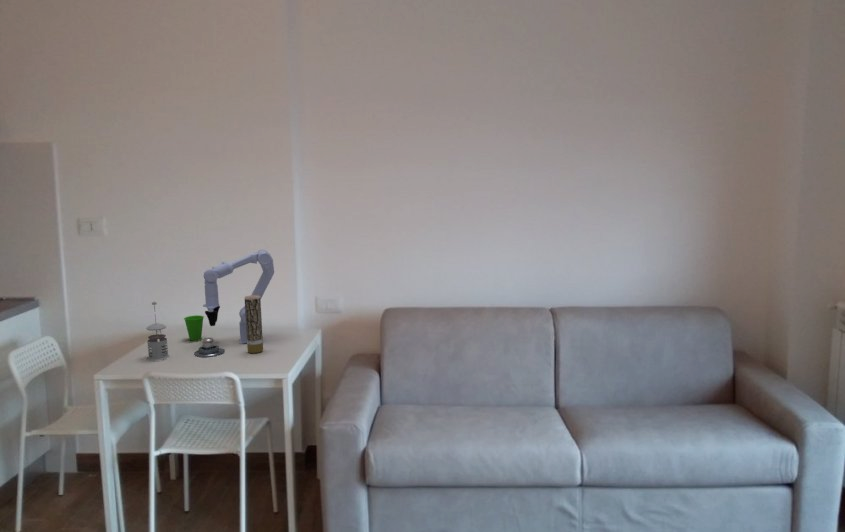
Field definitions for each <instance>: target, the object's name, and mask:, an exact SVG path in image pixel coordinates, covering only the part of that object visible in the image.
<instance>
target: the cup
mask: <svg viewBox="0 0 845 532" xmlns="http://www.w3.org/2000/svg"><path fill="white" fill-rule="evenodd" d="M204 318H205V316H204V315H196V314H195V315H188V316H186V317H184V318H183V320H184V322H185V325H186V330H187V333H188V334H187V335H188V338H189V341H190V340H191V342H198V340H199V341H201V340H202V334H203V325H204V323H203V322H204ZM200 339H201V340H200Z"/></svg>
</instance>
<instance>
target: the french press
mask: <svg viewBox="0 0 845 532" xmlns="http://www.w3.org/2000/svg"><path fill="white" fill-rule="evenodd" d="M157 303H158V302H156V301H152V302H151V306H152V305H153V308H154V311H156V306H155V305H157ZM154 318H155V319H154V322H155V323H151V324H150V325H148V326H147V327H145V329H146V330H147V331H152V332H153V331H155V332H156V334H151V335H149V336H148V339H147V341H146V342H147V351H148V352H147V353H148V354H147V355H148V357H147V358H146V361H148V360H149V362H157V361H156V360H162V361H164V360H163V359H166V360H168V359H167V358H169V357H170V356H171V354H169V350H168V338H167V337H166V334H163V333H162V330H164V329H166V328H167V325H165V324H164V323H163V324H162V323H159V322H158V323H157V319H156V315H154ZM158 332H160V333H159V334H158ZM158 340H159V341H158ZM170 358H171V357H170ZM170 358H169V359H170ZM150 360H151V361H150Z"/></svg>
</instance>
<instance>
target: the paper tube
mask: <svg viewBox="0 0 845 532" xmlns="http://www.w3.org/2000/svg"><path fill="white" fill-rule="evenodd" d="M261 300H262V298H261V299H260V296H258V295H252V294H251V295H246V296H244V306H245V316H246V333H247V343H246V345H247V352H248V353H249V354H259V353H262V352H263V351H264V343H263V341H264V339H263V338H264V337H263V323H262V322H263V321H262V320H263V319H262V301H261Z"/></svg>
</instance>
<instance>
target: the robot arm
mask: <svg viewBox="0 0 845 532" xmlns="http://www.w3.org/2000/svg"><path fill="white" fill-rule="evenodd" d="M258 263H259V265H260V267H261V269H262V273H261V275H260V277H259V279H258V281H257V283H256V285H255V287H254V289H253V291H252V293H251V295H258V296H260V299H261V300H262V297H263V295H264V294H265V292H266V289H267V288H268V286H269V284H270V283H271V281H272V279H273V276H274V274H275V267H274V259H273V257H272V256H271V253H269V252H268V251H267V250H265V249H259V250H257V251H253V252H252V253H249V254H246V255H245V256H243V257H241V258H238V259H236V260H234V261H231V262H229V261H222V262H221V264H218V265H216V266H211V268H208V269H206V270H205V271H204V272H203V279H204V296H205V299H204V300H205V304H203V305H202V307H205V308H207V310H205V311H204V314H205V315H206V317H207V319H208V324H209V326H210V327H215V326H216V323H218V316H219V310H220V308H221V305H220V303H219V289H218V283H217V282H218V279H221V278H224V277H226V276H229V275H231V274H233V272H234V270H235V269H238V268H240V267H243V266H245V265H248V264H256V265H257V264H258ZM238 315H239V317H240V321H239V342H238V343H239V344H247V333H246V316H245V305H244V306H243V307H242V308H241V309H240V310H239V313H238Z"/></svg>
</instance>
